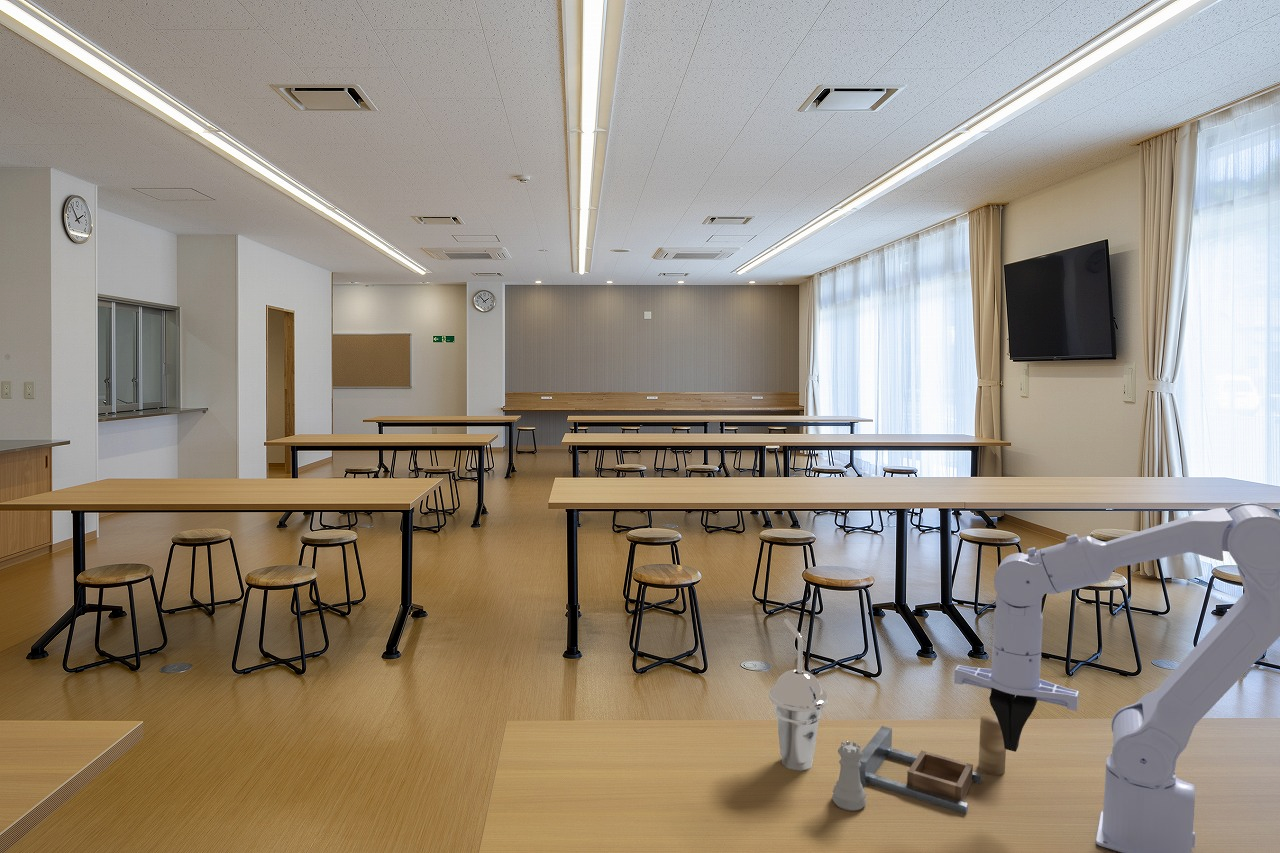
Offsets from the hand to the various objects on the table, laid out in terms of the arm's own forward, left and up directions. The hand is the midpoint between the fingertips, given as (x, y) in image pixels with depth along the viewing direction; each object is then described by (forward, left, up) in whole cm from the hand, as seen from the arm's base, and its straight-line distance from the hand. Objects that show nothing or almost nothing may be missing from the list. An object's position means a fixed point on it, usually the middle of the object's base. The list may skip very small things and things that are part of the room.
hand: (1011, 747), depth 104 cm
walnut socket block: (+9, 0, -8) cm, 12 cm away
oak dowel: (+4, -9, -8) cm, 13 cm away
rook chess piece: (+18, +11, -8) cm, 23 cm away
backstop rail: (+12, 0, -8) cm, 14 cm away
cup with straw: (+28, +5, -8) cm, 29 cm away
